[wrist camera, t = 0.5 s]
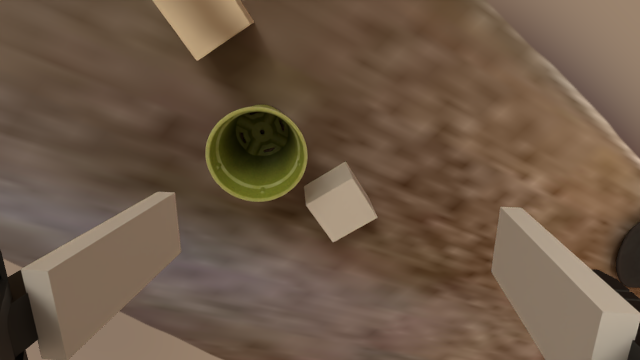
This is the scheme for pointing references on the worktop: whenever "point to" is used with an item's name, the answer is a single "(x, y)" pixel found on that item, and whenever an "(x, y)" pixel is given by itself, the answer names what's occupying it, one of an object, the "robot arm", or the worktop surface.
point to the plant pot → (256, 154)
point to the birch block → (205, 22)
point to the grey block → (339, 202)
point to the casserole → (630, 259)
